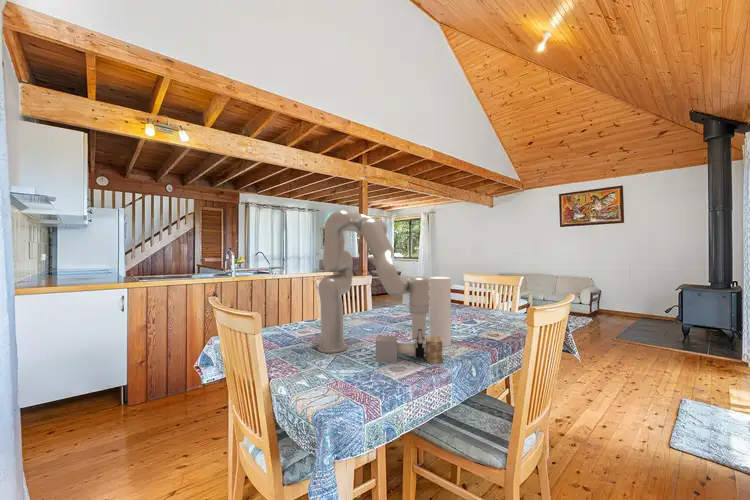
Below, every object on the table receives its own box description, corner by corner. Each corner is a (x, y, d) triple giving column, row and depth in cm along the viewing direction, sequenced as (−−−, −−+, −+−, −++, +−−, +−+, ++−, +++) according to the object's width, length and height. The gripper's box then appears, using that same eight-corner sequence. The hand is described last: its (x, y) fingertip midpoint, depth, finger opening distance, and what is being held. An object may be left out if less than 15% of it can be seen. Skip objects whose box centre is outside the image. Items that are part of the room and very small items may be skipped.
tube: (393, 356, 124) (393, 344, 124) (393, 352, 129) (393, 340, 129) (433, 357, 123) (432, 345, 123) (432, 353, 128) (431, 341, 127)
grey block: (375, 361, 124) (375, 340, 124) (377, 355, 131) (377, 335, 131) (396, 362, 123) (396, 341, 123) (397, 355, 130) (397, 335, 130)
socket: (427, 362, 122) (427, 341, 122) (426, 356, 129) (426, 336, 129) (442, 362, 122) (442, 341, 121) (440, 356, 128) (440, 336, 128)
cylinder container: (449, 340, 150) (449, 275, 150) (452, 346, 141) (451, 277, 140) (428, 340, 151) (428, 275, 150) (430, 346, 142) (429, 277, 141)
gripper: (408, 304, 134) (409, 348, 134) (409, 313, 117) (410, 363, 118) (427, 304, 133) (427, 349, 134) (430, 313, 117) (431, 364, 117)
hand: (419, 355), depth 126 cm, fingers closed on tube, 4 cm apart
